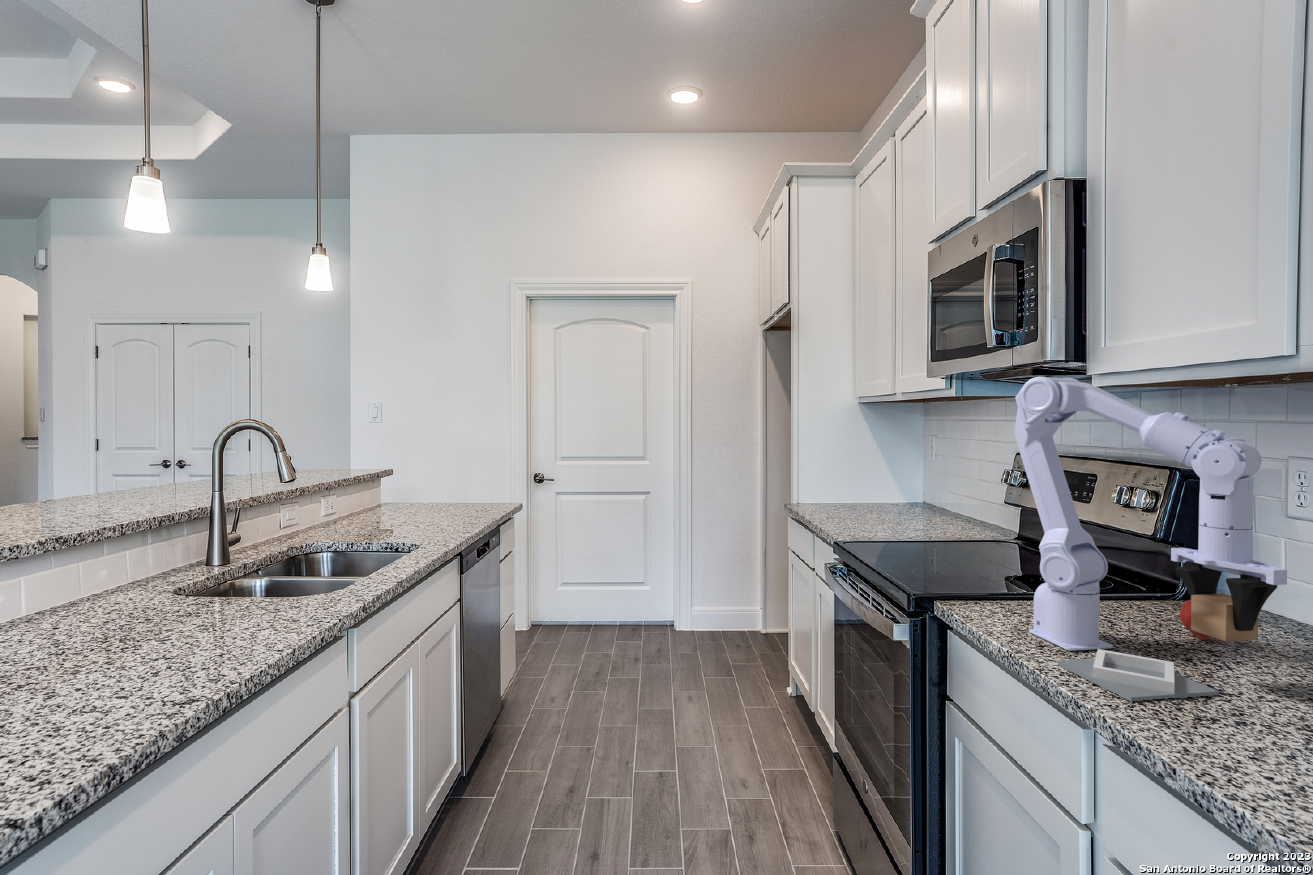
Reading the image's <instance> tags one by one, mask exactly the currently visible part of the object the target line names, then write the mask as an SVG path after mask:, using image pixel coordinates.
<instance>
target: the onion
mask: <svg viewBox="0 0 1313 875" xmlns="http://www.w3.org/2000/svg"><path fill="white" fill-rule="evenodd" d="M1179 618H1180V622H1181V624H1182V625H1183V626H1184V627H1185V628H1186V629H1187V630H1188V631H1189V632H1190V633H1191V634H1193V635H1194V636H1195V637H1196V638H1197V639H1198V640H1201V641H1205V640H1207V639H1211V638H1212V637H1211V636H1208V635H1205V634H1202V633H1199V632H1196V631H1193V630H1191V598H1190V599H1189V600H1187V601H1186V602H1185V603H1183V605H1182V606H1181V608H1180V612H1179Z"/></svg>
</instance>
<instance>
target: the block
mask: <svg viewBox="0 0 1313 875" xmlns="http://www.w3.org/2000/svg"><path fill="white" fill-rule="evenodd" d="M1190 599H1191V630H1193V631H1196V632H1199V633H1202V634H1205V635H1208V636H1211V638H1214V639H1216V640H1220V641H1222V642H1226V643H1227V642H1240V641H1241V642H1242V641H1245V642H1246V641H1257V640H1259V616H1258V617H1257V620H1256V622H1255V625H1254V628H1253V631H1238V630H1235V627H1234V621H1233V603H1232V598H1231V594H1230V595H1229V594H1226V593H1216V594H1200V595H1191V598H1190Z"/></svg>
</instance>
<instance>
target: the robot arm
mask: <svg viewBox="0 0 1313 875" xmlns="http://www.w3.org/2000/svg"><path fill="white" fill-rule="evenodd" d="M1014 398H1015V402H1016V405H1017V412H1016V418H1015V423H1014V429H1013V430H1014V431H1013V432H1014V438H1015V441H1016V444H1017V448H1018V451H1019V454H1020V457H1021V461H1022V464H1023V467H1024V471H1025V473H1026V478H1027V480H1028V483H1029V487H1030V490H1031V493H1032V496H1033V499H1034V500H1033V501H1034V503H1035V506H1036V509H1037V513H1038V515H1039V519H1040V522H1041V526H1042V530H1043V533H1044V535H1043V536H1042V539H1041V541H1040V543H1039V546H1038V549H1039V553H1040V563H1039V572H1040V575H1041V577H1042V579H1043V580H1044V581H1045V582H1044V583H1041V584H1040V585H1038V587H1037V588H1036V589H1035V592H1034V595H1033V628H1030V629H1028V632H1029V633H1030V634H1032V635H1035V636H1037V637H1038V638H1040V639H1043V640H1045V641H1047V642H1050V643H1051V644H1054V645H1055V646H1058V647H1060V648H1061V649H1064V650H1067V651H1088V650H1089V651H1090V650H1098V649H1101V650H1107V649H1113V648H1114V645H1113V644H1110V643H1108V642H1107V641H1104V640H1101V639H1100V598H1101V597H1100V592H1101V590H1100V588H1101V587H1100V581H1102V580H1103V579H1105V577H1106V575H1108V569H1109V564H1108V561H1107V559H1106V557H1105V555H1104V554H1103V553H1102V551H1100V550H1099V548H1098V547H1097V545H1096V544H1095V541H1094V537H1092V535H1091V534H1089V532H1088V531H1086V530H1085V529H1084V528H1083V527H1082V525H1081V523H1080V519H1079V515H1078V513H1077V510H1076V506H1075V502H1074V501H1073V496H1072V494H1071V490H1070V488H1069V485H1068V481H1067V478H1066V474H1065V472H1064V469H1063V465H1062V463H1061V459H1060V456H1059V454H1058V450H1057V446H1056V444H1055V440H1054V435H1055V434H1056V433H1057V431H1058V430H1059V429H1060V427H1061V426H1062V424H1063V423H1065V422H1066V421H1067V420H1069V419H1070V418H1071V417H1072V416H1074V415H1076V414H1077V413H1078V412H1089V413H1091V414H1094V415H1096V416H1099V417H1100V418H1103V419H1105V420H1107V421H1110V422H1113V423H1115V424H1117V425H1119V426H1122V427H1125V428H1127V429H1129V430H1131V431H1134V432H1137V433H1138V434H1139V435H1140V438H1141V441H1142V442H1143V445H1144V446H1146V447H1148V448H1150V449H1152V450H1154V451H1155V452H1158V453H1159V454H1162V455H1164V456H1166V457H1168V458H1170V459H1173V460H1174V461H1177V462H1179V463H1181V464H1183V465H1185V466H1187V467H1190V468H1192V469H1193V471H1194V473H1195V474H1196V475H1197V477H1199V479H1200V480H1199V491H1198V492H1199V495H1198V498H1199V499H1198V500H1199V501H1198V541H1197V542H1198V547H1197V548H1198V549H1192V548H1188V547H1171V549H1170V550H1171V551H1170V561H1172V562H1176V563H1184V564H1183V566H1177V567H1176V569H1175V570H1176V573H1177V575H1178V576H1179V577H1180V579H1181V581H1182V582H1183V584H1184V586H1185V588H1186V590H1187V592H1188V595H1189V598H1190V599H1191V595H1200V594H1217V589H1218V585H1219V582H1220V579H1221V576H1222V574H1223V573H1227V574H1231V575H1235V576H1239V577H1229V578H1225V582H1226V585H1227V587H1228V589H1229V594H1230V596H1231V598H1232V603H1233V621H1234V627H1235V630H1238V631H1253V628H1254V625H1255V622H1256V620H1257V617H1258V618H1259V614H1260V612H1261V610H1262V609H1263V607H1264V605H1265V603H1267V602H1266V601H1268V599H1269V597H1270V596H1272V594H1273V592H1275V591H1276V590H1277V589H1278V586H1279V585H1280V586H1284V585H1287V584H1288V569H1286V568H1281V567H1276V566H1273V565H1270V564H1267V563H1264V562H1261V561H1258V560H1255V559H1254V558H1253V555H1254V552H1253V550H1254V548H1253V547H1254V518H1255V516H1254V514H1255V513H1254V512H1255V494H1254V479H1255V478H1254V475H1255V474H1256V473H1257V472H1258V471H1259V469H1260V468H1261V465H1262V457H1261V454H1260V452H1259V450H1258V449H1257V448H1256V447H1255V446H1254V445H1253V444H1251V443H1248V442H1247V441H1246V440H1245V439H1243V438H1237V437H1236V438H1234V437H1233V438H1226V439H1225V434H1226V432H1225V431H1222V430H1220V429H1214V430H1211V429H1209V428H1206V427H1204V426H1202V425H1200V424H1198V423H1195V422H1193V421H1191V420H1188V419H1189V418H1190V416H1189V414H1186V413H1184V412H1181V411H1180V412H1179V411H1178V412H1175V413H1172V412H1170V411H1166V412H1163V413H1162V412H1161V413H1158V414H1153V413H1150V412H1148V411H1146V410H1145V409H1142V408H1140V407H1138V405H1137V406H1136V405H1134V404H1133V403H1130V402H1128V401H1126V400H1125V399H1123V398H1120V397H1118V396H1116V395H1114V394H1112V393H1110V392H1108V391H1106V390H1104V389H1102V388H1100V387H1098V386H1095V385H1093V384H1091V383H1087V382H1081V381H1079V380H1078V379H1076V378H1073V377H1062V378H1059V377H1047V376H1036V377H1035V376H1034V377H1032V378H1030V379H1028V380H1027V381H1026V382H1025V383H1024V384H1023V386H1022V387H1021V388H1020V390H1019V391H1018V393H1017V394H1016V396H1015V397H1014Z"/></svg>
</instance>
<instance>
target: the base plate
mask: <svg viewBox="0 0 1313 875" xmlns="http://www.w3.org/2000/svg"><path fill="white" fill-rule="evenodd" d="M1057 665H1058V666H1059V667H1062V668H1064V669H1066V670H1067V671H1069V672H1071V673H1073V674H1076V675H1077V676H1078V677H1081V678H1083V679H1085V680H1087V681H1089V682H1091V683H1093V684H1095V685H1097V686H1099V687H1101V688H1103V689H1104V690H1107V691H1108V692H1110V691H1111V692H1110V693H1112V692H1113V693H1112V694H1114V693H1116V694H1118V695H1119V696H1118V695H1117V696H1118V697H1121V698H1123V699H1124V698H1125V699H1124V700H1126V699H1127V701H1128V700H1129V702H1130V703H1133V701H1135V702H1136V701H1137V702H1144V701H1143V700H1151V701H1153V700H1152V699H1163V698H1164V699H1165V698H1180V699H1188V698H1187V697H1194V698H1200V697H1199V696H1208V697H1214V696H1213V695H1219V694H1220V692H1219V690H1216V689H1214V688H1212V687H1209V686H1208V685H1205V684H1203V683H1200V682H1198V681H1195V680H1193V679H1191V678H1188V677H1186V676H1184V675H1181V674H1179V673H1176V672H1175V663H1174V661H1169V660H1163V659H1156V658H1151V657H1147V656H1146V657H1145V656H1140V655H1135V654H1134V655H1133V654H1129V653H1124V652H1117V651H1111V650H1107V649H1097V651H1096V655H1095V657H1094V658H1083V659H1067V660H1066V659H1065V660H1063V659H1062V660H1057ZM1116 694H1115V695H1116ZM1197 696H1198V697H1197ZM1219 696H1220V695H1219ZM1141 700H1142V701H1141ZM1165 700H1166V699H1165ZM1135 702H1134V703H1135Z"/></svg>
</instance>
